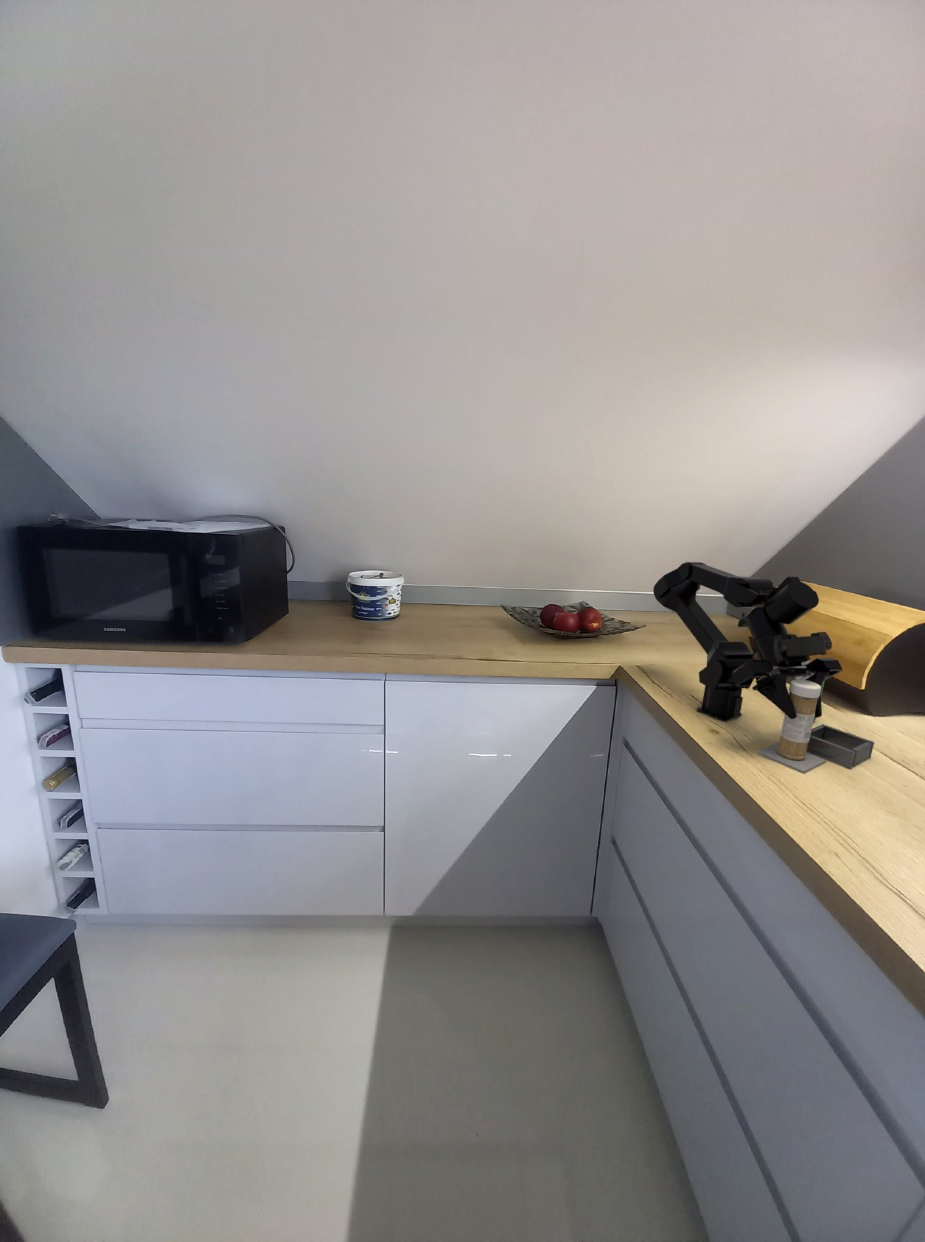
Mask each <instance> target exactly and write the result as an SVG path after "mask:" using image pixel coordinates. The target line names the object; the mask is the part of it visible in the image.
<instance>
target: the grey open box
mask: <svg viewBox="0 0 925 1242" xmlns="http://www.w3.org/2000/svg"><path fill="white" fill-rule="evenodd" d="M874 745H875V741H872V740H871V739H870V740H869V739H868V738H864V737H861V736H858V735H856V734H852V733H851V732H850V733H849V732H846V731H844V730H840V729H838V728H836V727H833V726H831V725H827V724H823V723H822V724H819V725H818V726H814V727H812V730H811V735H810V739H809V742H808V745H807V750H806V752H807V753H809V754H812V755H814V756H817V757H819V758H822V759H825V760H826V761H829V762H831V763H833V764H836V765H839V766H841V767H844V768H847V769H849V770H851V769H852V768H854V767H856V766H858V765H860V764H861V763H863V762H865V761H867V760H868V759H871V757H872V754H873V750H874Z"/></svg>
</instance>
